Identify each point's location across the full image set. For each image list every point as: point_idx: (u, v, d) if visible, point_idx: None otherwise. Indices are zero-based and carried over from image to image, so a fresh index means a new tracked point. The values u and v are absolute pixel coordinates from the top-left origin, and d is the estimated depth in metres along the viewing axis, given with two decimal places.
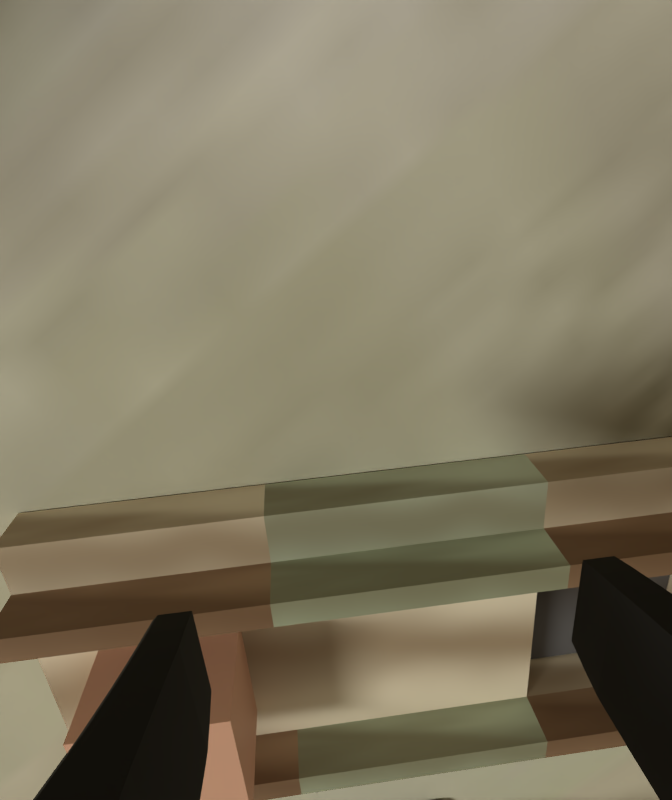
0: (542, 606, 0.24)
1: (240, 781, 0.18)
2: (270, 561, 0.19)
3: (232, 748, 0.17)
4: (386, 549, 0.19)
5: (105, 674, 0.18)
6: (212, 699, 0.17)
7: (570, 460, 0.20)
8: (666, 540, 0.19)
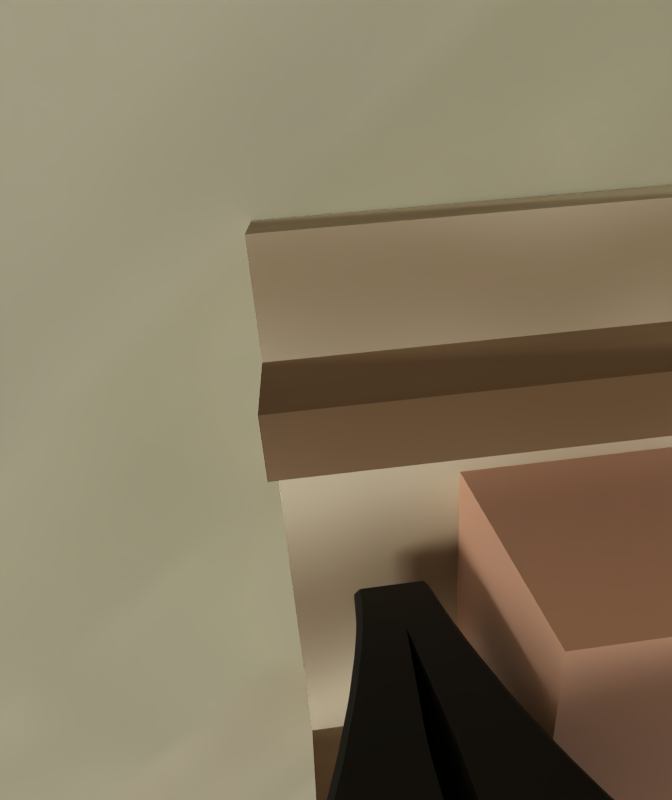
0: None
1: None
2: None
3: None
4: None
5: (527, 522, 0.08)
6: None
7: None
8: None
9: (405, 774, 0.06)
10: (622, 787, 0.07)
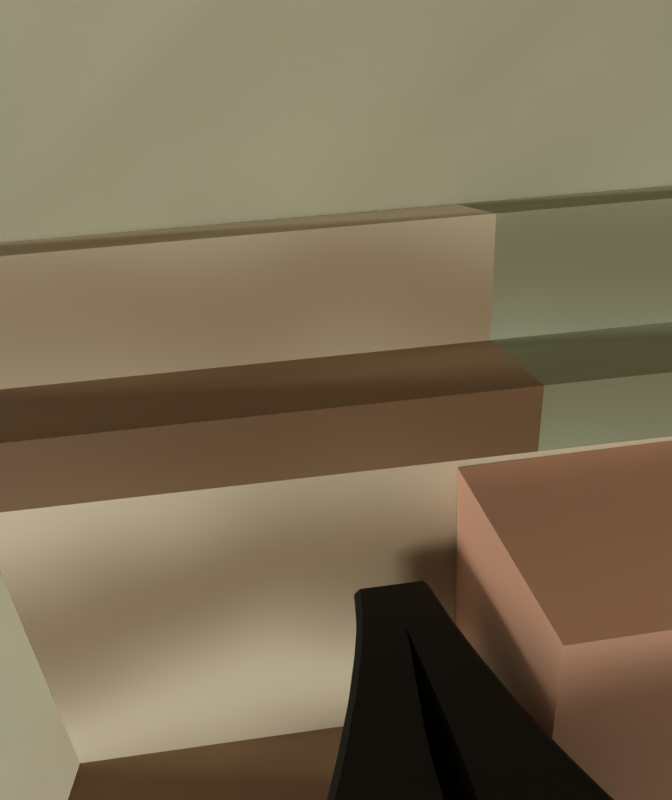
0: None
1: None
2: (489, 337, 0.09)
3: None
4: None
5: (525, 517, 0.08)
6: None
7: None
8: None
9: (405, 774, 0.06)
10: (622, 783, 0.07)
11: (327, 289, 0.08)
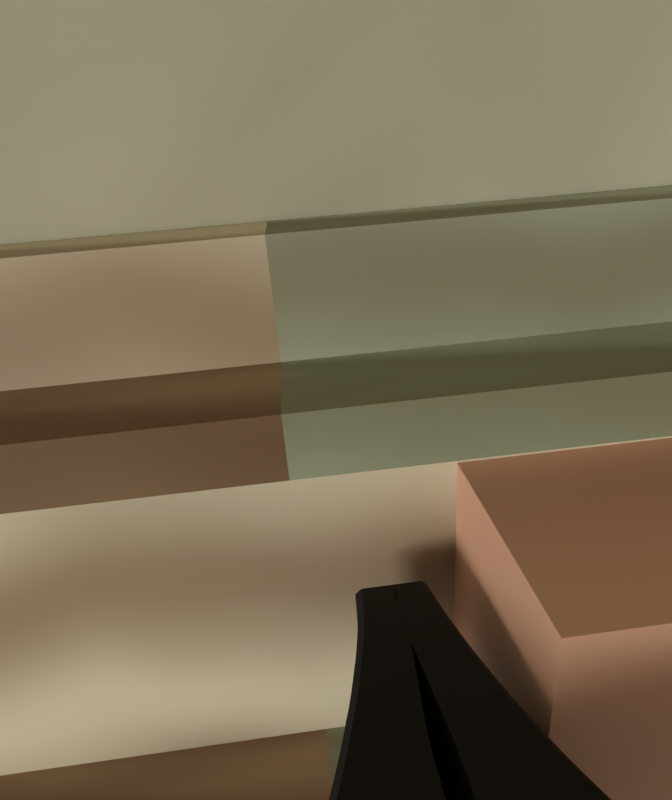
0: None
1: None
2: (279, 359, 0.09)
3: None
4: (530, 340, 0.09)
5: (524, 511, 0.08)
6: None
7: None
8: None
9: (407, 774, 0.06)
10: (619, 777, 0.07)
11: (98, 312, 0.08)
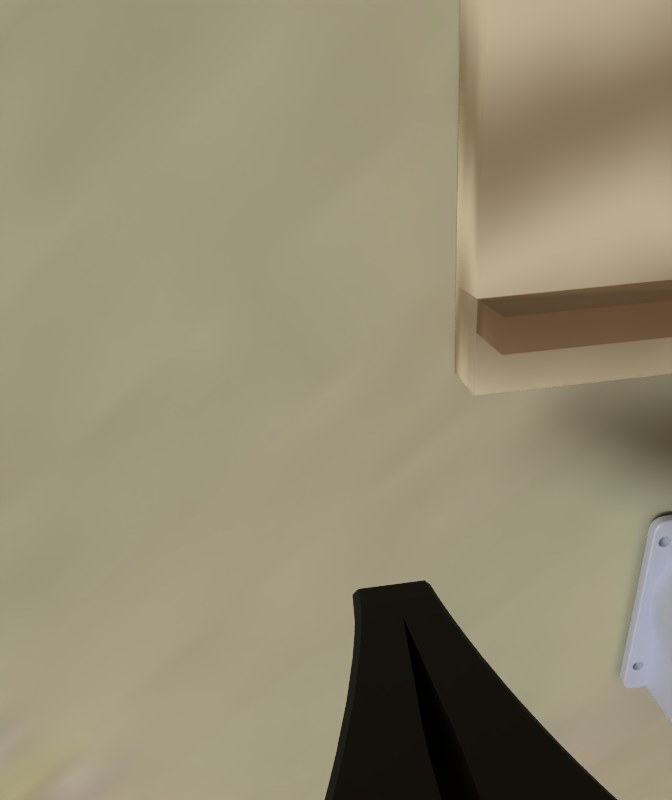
0: None
1: None
2: None
3: None
4: None
5: None
6: None
7: None
8: None
9: (403, 774, 0.06)
10: None
11: None
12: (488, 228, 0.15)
